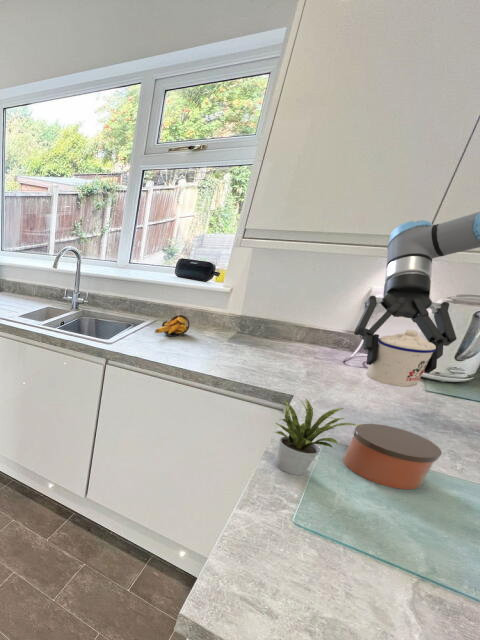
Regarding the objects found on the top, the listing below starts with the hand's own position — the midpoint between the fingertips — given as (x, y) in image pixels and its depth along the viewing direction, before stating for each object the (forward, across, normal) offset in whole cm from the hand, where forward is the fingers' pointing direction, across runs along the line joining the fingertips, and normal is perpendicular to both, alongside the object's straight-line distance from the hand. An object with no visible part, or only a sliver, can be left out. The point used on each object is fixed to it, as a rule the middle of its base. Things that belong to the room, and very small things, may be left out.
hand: (400, 366), depth 92 cm
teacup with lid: (+1, -1, -5) cm, 5 cm away
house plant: (+28, +15, -3) cm, 32 cm away
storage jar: (+22, -2, -9) cm, 24 cm away
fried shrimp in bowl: (-36, +50, -66) cm, 91 cm away
